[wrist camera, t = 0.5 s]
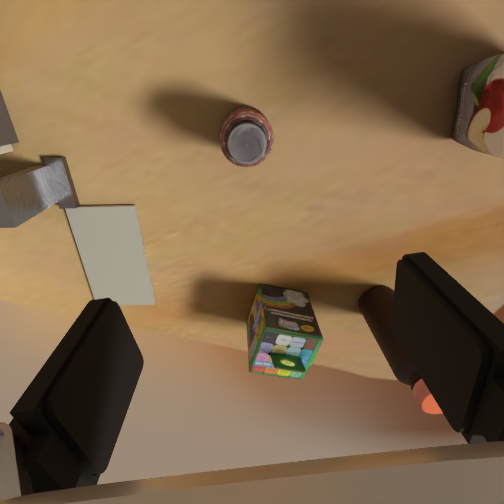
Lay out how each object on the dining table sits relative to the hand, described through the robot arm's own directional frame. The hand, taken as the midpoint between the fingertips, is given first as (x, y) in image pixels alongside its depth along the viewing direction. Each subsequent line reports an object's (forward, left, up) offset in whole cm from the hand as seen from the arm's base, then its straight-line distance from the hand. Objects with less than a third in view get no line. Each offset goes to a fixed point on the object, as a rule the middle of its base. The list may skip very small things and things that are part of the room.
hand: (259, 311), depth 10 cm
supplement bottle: (-2, 0, -35) cm, 35 cm away
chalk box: (+28, +5, -35) cm, 45 cm away
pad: (+17, -22, -35) cm, 45 cm away
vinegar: (+27, +23, -35) cm, 50 cm away
